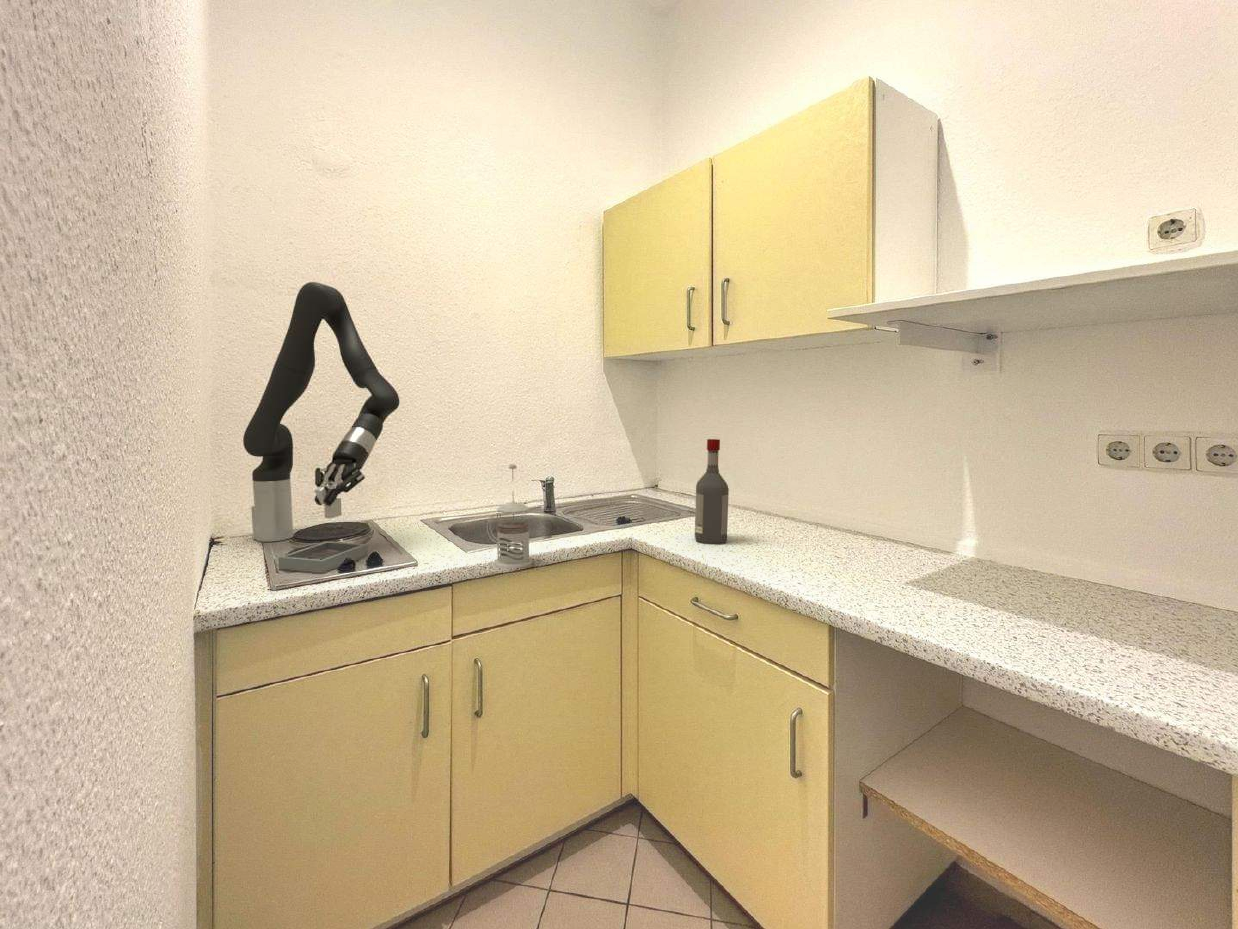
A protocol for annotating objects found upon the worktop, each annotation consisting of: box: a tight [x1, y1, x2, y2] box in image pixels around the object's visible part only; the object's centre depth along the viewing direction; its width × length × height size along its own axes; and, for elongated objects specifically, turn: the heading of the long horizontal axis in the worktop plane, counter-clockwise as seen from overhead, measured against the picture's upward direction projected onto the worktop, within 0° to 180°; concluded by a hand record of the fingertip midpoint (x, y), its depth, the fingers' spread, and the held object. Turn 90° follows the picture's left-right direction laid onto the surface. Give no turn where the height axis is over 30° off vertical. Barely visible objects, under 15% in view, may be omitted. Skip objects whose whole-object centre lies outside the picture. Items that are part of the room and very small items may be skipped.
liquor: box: [694, 438, 730, 545], centre depth 165 cm, size 9×9×30 cm
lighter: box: [314, 487, 342, 519], centre depth 138 cm, size 7×2×8 cm, turn 168°
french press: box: [486, 463, 534, 569], centre depth 141 cm, size 10×12×25 cm
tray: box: [277, 540, 368, 575], centre depth 140 cm, size 12×16×3 cm
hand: (322, 503), depth 136 cm, fingers closed on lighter, 2 cm apart
